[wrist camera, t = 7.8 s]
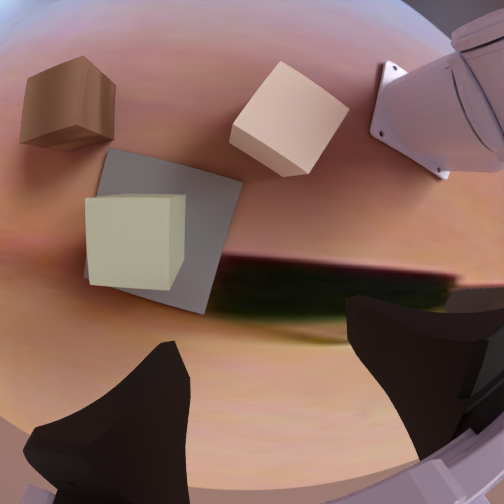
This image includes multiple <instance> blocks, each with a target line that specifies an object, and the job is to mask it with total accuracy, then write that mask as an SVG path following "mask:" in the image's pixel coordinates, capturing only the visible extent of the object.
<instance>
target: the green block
mask: <svg viewBox="0 0 504 504" xmlns="http://www.w3.org/2000/svg"><path fill="white" fill-rule="evenodd" d="M185 207H186V194H116V195H107V196H98V197H90V198H85V223H86V246H87V260H88V272H89V281H90V285H99V286H110V287H123V288H137V289H152V290H169V291H170V289H171V287H172V284H173V282H174V280H175V278H176V276H177V274H178V272H179V269H180V267H181V265H182V263H183V261H184V242H185Z"/></svg>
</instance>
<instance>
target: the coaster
mask: <svg viewBox="0 0 504 504" xmlns="http://www.w3.org/2000/svg"><path fill="white" fill-rule="evenodd" d="M242 185H243V182H241V181H237V180H234V179H231V178H227V177H224V176H221V175H217V174H214V173H210V172H207V171H203V170H200V169H196V168H192V167H189V166H185V165H181V164H177V163H173V162H170V161H166V160H162V159H158V158H153V157H149V156H145V155H141V154H137V153H132V152H128V151H123V150H119V149H114V148H109V150H108V153H107V157H106V160H105V164H104V167H103V171H102V175H101V179H100V183H99V187H98V191H97V196H96V197H98V196H107V195H116V194H186V207H185V242H184V261H183V263H182V265H181V267H180V269H179V272H178V274H177V276H176V278H175V280H174V282H173V284H172V287H171V289H170V291H169V290H152V289H137V288H123V287H112V288H115V289H118V290H121V291H124V292H127V293H130V294H133V295H137V296H140V297H143V298H146V299H150V300H153V301H156V302H160V303H163V304H167V305H170V306H174V307H177V308H181V309H185V310H188V311H192V312H196V313H200V314H203V315H204V313H205V309H206V306H207V302H208V298H209V295H210V291H211V288H212V284H213V281H214V277H215V274H216V270H217V267H218V264H219V260H220V257H221V253H222V250H223V247H224V243H225V240H226V237H227V233H228V230H229V227H230V223H231V220H232V217H233V214H234V210H235V207H236V204H237V201H238V198H239V194H240V191H241V188H242ZM84 278H86V279H89V272H88V260H87V252H86V260H85V268H84ZM109 287H110V286H109Z"/></svg>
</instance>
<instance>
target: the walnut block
mask: <svg viewBox="0 0 504 504" xmlns="http://www.w3.org/2000/svg"><path fill="white" fill-rule="evenodd" d="M115 92H116V85H115V84H114V83H113V82H112V81H111V80H110V79H108V78H107V77H106V76H105V75H104V74H103V73H102V72H101V71H100V70H99V69H98V68H97V67H95V66H94V65H93V64H92V63H91V62H90V61H89V60H88V59H87V58H86V57H85V56H81V57H78V58H76V59H73V60H70V61H67V62H65V63H62V64H60V65H57V66H55V67H52V68H50V69H47V70H45V71H43V72H41V73H38V74H36V75H34V76H32V77H30V78H28V79H27V85H26V90H25V97H24V104H23V112H22V121H21V134H20V144H27V145H33V146H40V147H46V148H52V149H57V150H63V151H67V150H71V149H74V148H78V147H83V146H87V145H91V144H96V143H100V142H105V141H110V140H114V111H115Z"/></svg>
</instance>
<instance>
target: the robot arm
mask: <svg viewBox="0 0 504 504" xmlns="http://www.w3.org/2000/svg"><path fill="white" fill-rule="evenodd" d="M451 45H452V47H453V48H454V49H455V51H456V52H454V53H452V54H449V55H447V56H444V57H442V58H440V59H438V60H435V61H433V62H431V63H429V64H426V65H424V66H422V67H420V68H418V69H416V70H414V71H411V72H409V73H408V72H406V71H405V70H403V69H402V68H400V67H399V66H397V65H396V64H394V63H392V62H391V61H386V62H384V65H383V71H382V76H381V81H380V86H379V91H378V96H377V100H376V105H375V109H374V114H373V118H372V122H371V126H370V134H371V135H372V136H373V137H374V138H376V139H378V140H380V141H382V142H384V143H385V144H387V145H389V146H391V147H392V148H394V149H396V150H398V151H399V152H401V153H403V154H404V155H406V156H407V157H409V158H411V159H412V160H414V161H415V162H417V163H419V164H420V165H422V166H423V167H425V168H426V169H428V170H429V171H431V172H432V173H434V174H435V175H437V176H438V177H440V178H441V179H443V180H447V178H448V175H449V171H467V172H488V173H492V172H498V171H500V170H502V169H504V8H503V9H500V10H497V11H495V12H492V13H490V14H487V15H485V16H483V17H480V18H478V19H476V20H474V21H472V22H470V23H468V24H466V25H464V26H462V27H460V28H459V29H457V30H455V31H454V32H453V33H452V41H451ZM393 68H394V69H395V70H394V69H393ZM379 132H381V133H382V137H381V136H380V134H379ZM437 168H438V171H437ZM345 304H346V318H347V338H348V341H349V342H350V344H351V346H352V348H353V350H354V351H355V353H356V355H357V356H358V358H359V359H360V360H361V362H362V363H363V364H364V365H365V367H366V368H367V369H368V370H369V372H370V373H371V374H372V375H373V377H374V378H375V379H376V380H377V382H378V383H379V384H380V385H381V387H382V388H383V389H384V391H385V392H386V394H387V395H388V397H389V398H390V400H391V402H392V403H393V405H394V407H395V409H396V410H397V412H398V414H399V416H400V418H401V420H402V422H403V423H404V425H405V427H406V429H407V432H408V434H409V436H410V438H411V440H412V442H413V444H414V447H415V449H416V452H417V454H418V457H419V459H420V462H418V463H417V464H415V465H413V466H411V467H409V468H407V469H404V470H402V471H400V472H399V473H396V474H395V475H392V476H390V477H388V478H386V479H384V480H382V481H380V482H377V483H375V484H373V485H371V486H368V487H366V488H363V489H361V490H358V491H356V492H353V493H351V494H348V495H346V496H343V497H340V498H337V499H334V500H330V501H328V502H324V503H321V504H490V503H489V501H488V500H487V499H486V497H485V496H484V495H485V494H486V493H487V492H488V491H490V490H491V489H492V488H493V487H494V486H495V485H496V484H497V483H498V482H499V481H500V480H501V479H503V478H504V308H501V309H496V310H491V311H485V312H475V313H438V312H429V311H422V310H416V309H412V308H407V307H403V306H399V305H395V304H391V303H387V302H384V301H380V300H377V299H373V298H369V297H366V296H361V295H357V296H353V297H350V298H347V299H345ZM190 398H191V395H190V377H189V375H188V372H187V370H186V368H185V365H184V363H183V361H182V358H181V356H180V353H179V351H178V348H177V346H176V344H175V341H169V342H163V343H160V344H159V345H158V346H157V347H156V348H155V349H154V350H153V351H152V352H151V353H150V354H149V355H148V356H147V357H146V358H145V359H144V360H143V361H142V362H141V363H140V364H139V365H138V366H137V367H136V368H135V369H134V370H133V371H132V372H131V373H130V374H129V375H128V376H127V377H126V378H125V379H123V380H122V381H121V382H120V383H119V384H118V385H117V386H116V387H114V388H113V389H112V390H111V391H109V392H108V393H107V394H105V395H104V396H102V397H101V398H100V399H98V400H96V401H95V402H93V403H91V404H90V405H88V406H87V407H85V408H83V409H81V410H80V411H78V412H76V413H74V414H72V415H69V416H67V417H65V418H63V419H60V420H57V421H55V422H52V423H49V424H46V425H42V426H39V427H36V428H35V429H34V430H33V432H32V434H31V436H30V437H29V439H28V441H27V443H26V445H25V447H24V449H23V453H24V455H25V458H26V459H27V461H28V462H29V464H30V465H31V466H32V467H33V468H34V469H35V470H36V471H37V472H38V473H39V474H41V475H42V476H43V477H44V478H45V479H46V480H47V481H48V482H50V483H51V484H52V485H53V486H54V487H56V488H57V489H58V490H57V493H56V495H55V494H53V493H51V492H49V491H47V490H44V489H41V488H39V487H36V486H34V485H31V484H28V485H27V488H26V490H25V493H24V495H23V498H22V500H21V503H20V504H190V500H189V493H188V485H187V473H186V455H185V444H186V433H187V424H188V416H189V407H190Z"/></svg>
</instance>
